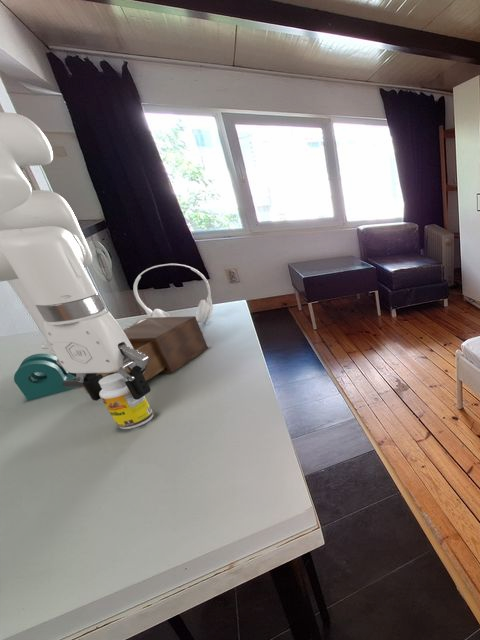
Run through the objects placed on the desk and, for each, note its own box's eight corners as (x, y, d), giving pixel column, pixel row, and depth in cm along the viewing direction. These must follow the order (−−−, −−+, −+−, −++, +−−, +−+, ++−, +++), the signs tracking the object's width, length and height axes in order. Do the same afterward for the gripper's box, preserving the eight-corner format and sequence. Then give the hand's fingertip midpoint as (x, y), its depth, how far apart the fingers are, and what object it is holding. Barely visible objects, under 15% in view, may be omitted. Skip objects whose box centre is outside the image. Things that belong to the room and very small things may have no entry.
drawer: (116, 404, 76) (98, 372, 73) (65, 405, 77) (43, 373, 73) (176, 364, 92) (163, 336, 88) (133, 365, 92) (118, 337, 89)
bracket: (28, 400, 81) (6, 370, 77) (33, 388, 86) (13, 359, 82) (131, 372, 91) (116, 343, 87) (131, 362, 96) (117, 335, 92)
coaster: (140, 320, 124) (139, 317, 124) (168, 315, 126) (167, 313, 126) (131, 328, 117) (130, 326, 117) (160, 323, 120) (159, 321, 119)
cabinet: (172, 373, 90) (155, 337, 85) (123, 374, 90) (103, 339, 86) (208, 348, 102) (195, 316, 97) (164, 349, 102) (149, 317, 98)
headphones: (223, 322, 119) (200, 261, 110) (153, 338, 109) (122, 273, 100) (220, 316, 124) (198, 257, 115) (153, 331, 115) (124, 268, 105)
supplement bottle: (112, 428, 71) (84, 383, 66) (142, 411, 75) (118, 368, 71) (132, 432, 69) (105, 387, 64) (161, 415, 74) (138, 371, 69)
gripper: (-2, 318, 58) (59, 408, 66) (102, 315, 58) (151, 406, 66) (47, 302, 65) (97, 386, 73) (141, 299, 64) (181, 384, 72)
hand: (122, 395), depth 69 cm, fingers open, 7 cm apart
